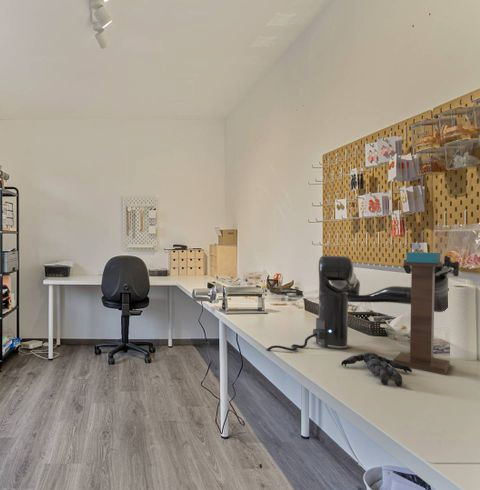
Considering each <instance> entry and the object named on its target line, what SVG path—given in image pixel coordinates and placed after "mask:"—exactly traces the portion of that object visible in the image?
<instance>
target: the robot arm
mask: <svg viewBox="0 0 480 490" xmlns="http://www.w3.org/2000/svg"><path fill="white" fill-rule="evenodd" d="M404 262H406V259H404V260H403V263H404ZM441 262H442V266H439V267H435V290H434V313H444V312H446V311H445V310H446V309H447V308H448V291H449V288H450V287H449V277H448V274H449V275H450V274H451V275H452V276H453V277H459V275H460V273H459V272H460V262H459V261H454V262H452V257H450V256H448V255H444V257H443V261H441ZM317 265H318V266H317V267H318V269H317V270H318V317H316V318H315V328H313V329H312V334H311V335H308V336H307V337H306V338H305V339H304V344H301V345H300V344H295V343H294V344H292V345H291V347H287V346H283V345H271V346H269V347H268V348H266V351H268V352H269V351H271V350H272V349H282V350H286V351H290V352H296V351H297V350H298V349H297V348H299V349H302V348H306V347H307V345H308V341H310V339H312V338H315V343H316V344H318V345H319V346H322V347H323V348H330V349H338V350H339V349H341V350H343V349H347V348H348V347H349V346H348V345H349V344H348V341H349V340H348V336H349V335H348V331H349V327H348V325H349V303H388V304H389V303H390V304H391V303H392V304H401V305H411V286H401V285H392V286H387V287H383V288H381V289H379V290H376V291H374V292H371V293H367V294H360V291H361V290H360V289H361V282H360V280H359V279H358V278H357V275H356V274H355V270H354V269H355V268H354V262H353V260H352V259H351V258H350V257H349V256H344V255H322V256H320V257H319V260H318V264H317ZM402 267H403V269H404V271H405V273H406V274H408V275H409V274H411V272H412V266H408V265H404V264H403V265H402ZM448 287H449V288H448ZM443 311H444V312H443ZM258 467H259V468H260V469H262V468H263V464H262V463H259V465H258Z"/></svg>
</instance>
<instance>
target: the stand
mask: <svg viewBox="0 0 480 490" xmlns="http://www.w3.org/2000/svg"><path fill="white" fill-rule="evenodd" d="M442 262H443V261H440V262H439V263H415V262H404V261H403V265H408V266H412V272H411V273H410V274H411V275H410V279H411V282H410V287H411V304H410V326H409V327H410V331H409V333H410V335H409V352H403V351H400V352H399V353H398V354H397V355H396V356H395V357H394V358H393V360H395V361H397V362H399V363H401V364H403V365H404V366H407V367H409V368H411V369H416V370H421V371H425V372H430V373H435V374H440V375H446V374H447V373H448V369H449V367H450V364H451V363H450V360H448V359H442V358H438V357H434V336H435V333H434V332H435V312H434V290H435V267H439V266H442Z"/></svg>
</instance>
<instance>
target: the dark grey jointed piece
mask: <svg viewBox="0 0 480 490" xmlns="http://www.w3.org/2000/svg"><path fill="white" fill-rule="evenodd" d="M357 362H364V363H365V364H366V365H367V369H368V370H369V371H370V372H371V374H374V376H377V377H378V376H379V378H380V383H381V384H382V385H384V386H385V385H388V382H389V377H390V378H393V382H394V384H395V385H396V386H397V387H401V386H402V384H403V377H402V375H401V373H400V372H399V371H397V369H398V370H402V371H404V372H405V373H408V372H409V373H412V372H413V368H410V367H407V366H404V365H403V364H401V363H399V362H397V361H395V360H394V359H392V360H391V359H388V358H387V357H384V356H380V355H378V353H375V352H372V351H369V352H365V353H360V354H357V355H356V354H355V355H351V356H349V357H347V358H346V359H343V360H342V361H341V366H343V365H344V367H347V365H355V364H356V363H357Z"/></svg>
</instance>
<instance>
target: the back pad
mask: <svg viewBox="0 0 480 490" xmlns="http://www.w3.org/2000/svg"><path fill="white" fill-rule="evenodd" d="M405 260H406V262H415V263H439V262H441V252H426V251H425V252H422V251H420V252H419V251H418V252H417V251H411V252H406V259H405Z"/></svg>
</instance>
